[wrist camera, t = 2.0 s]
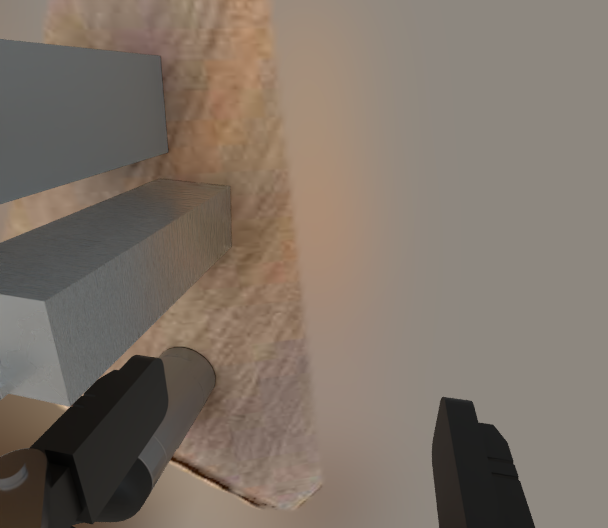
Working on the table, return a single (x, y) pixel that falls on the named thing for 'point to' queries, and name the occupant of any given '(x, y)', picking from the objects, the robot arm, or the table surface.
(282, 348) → the table surface
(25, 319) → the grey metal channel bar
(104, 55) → the stand
